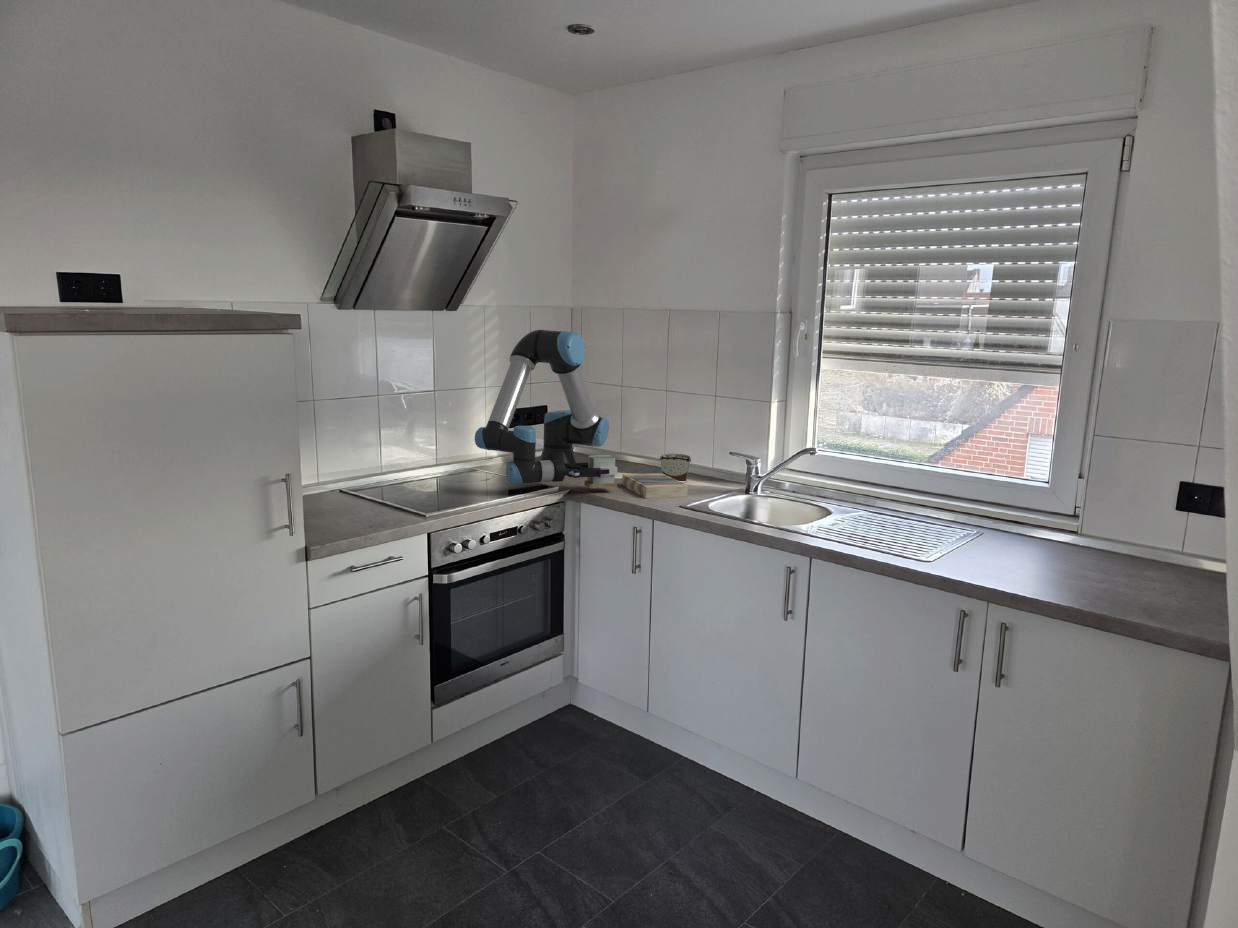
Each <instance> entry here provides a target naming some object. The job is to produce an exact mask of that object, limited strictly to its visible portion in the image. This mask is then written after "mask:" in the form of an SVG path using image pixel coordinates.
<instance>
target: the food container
mask: <svg viewBox="0 0 1238 928" xmlns="http://www.w3.org/2000/svg"><path fill="white" fill-rule="evenodd" d="M659 461H660V468H661V469H660V470H661V471H660V473H662V474H665V475H667V476H669V477H671V478H673V479H675V480H677V481H686V482H687V480H688V474H689V467H690V463H692V458H691V456H690V455H687V454H683V453H670V452H669V453H662V454H660V456H659Z"/></svg>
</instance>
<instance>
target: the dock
mask: <svg viewBox="0 0 1238 928" xmlns="http://www.w3.org/2000/svg"><path fill="white" fill-rule="evenodd" d="M621 478H622V480H621V485H622V486H623V487H625V488H627V489H628V490H630V491H632V492H633V493H635V494H637V495H639V496H641V497H642V498H644V499H664V498H665V499H666V498H684V497H687V498H688V491H689V490H688V489H689V485H688V484H686V483H685V482H679V481H677V480H675V479H673V478H671V477H669V476H667V475H665V474H662V473H661V472H657V473H656V472H655V473H625V474H622V477H621Z"/></svg>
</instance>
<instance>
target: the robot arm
mask: <svg viewBox="0 0 1238 928" xmlns="http://www.w3.org/2000/svg"><path fill="white" fill-rule="evenodd" d="M585 347H586V346H585V343H584V340H583V338H582V337H581V335H580V334H578V333H577V332H573V331H568V330H564V331H563V330H547V329H546V330H544V329H537V330H532V331H530V332H529V333H527V334H525V335H524V336H523V337H522V338H521V339H520V340H519V341H518V342H517V343H516V345H515V347H514V348H513V349H512V352H511V353H510V356H509V359H508V360H509V363H510V364H509V367H508V369H507V372H506V374H505V377H504V379H503V382H502V385H501V387H500V390H499V392H498V395H497V398H496V400H495V402H494V405H493V408H492V410H491V413H490V415H489V417H488V420H487V423H486V426H482V427H481V426H480V427H479V428H478V429H477V430H476V431H475V434H474V443H475V445H476V447H477V448H479V449H482V450H487V451H496V452H497V451H498V452H503V453H504V452H505V453H511V454H512V460H511V461H508V462H507V463H506V464H505V465H506V466H505V476H506V480H507V482H508V483H509V484H521V485H522V484H533V483H534V484H535V483H541V484H543V485H544V484H545V483H550V482H553V483H554V482H555V483H558V482H559V483H560V482H563V481H564V479H565V477H566V476H567V477H568V478H574V479H577V478H587V477H599V478H600V477H601V475H615V476H617V475H618V466H615V467H600V468H588V461H587V462H576V458H575V454H574V451H573V445H579V446H584V447H592V448H593V447H596V448H597V447H599V448H600V447H602V446H603V445H605V442H606V440H607V438H608V435H609V429H610V423H609V420H608V418H606V417H605V416H604V417H603V416H602V417H601V415H600V412H599V410H598V409H597V408H596V407H594V406H593V403H592V400H591V396H590V393H589V390H588V387H587V384H586V382H585V379H584V378H585V377H584V376H583V373H582V369H581V366H582V363H583V361H584V359H585V355H586V351H585ZM538 363H539V364H540V363H541V364H543V363H544V364H549V366H550V369H551V371H552V372H553V373H554V374H557V376H558V379H559V381H560V384H561V387H562V390H563V392H564V396H565V398H566V401H567V404H568V407H569V409H568V410H564V409H563V410H554V411H549V412H548V411H547V412H546V413H545V414H544V417H543V418H544V420H543V421H544V422H543V449H542V450H541V451H542V452H541V455H540V457H539V460H536V443H537V435H536V433H537V432H536V431H537V430H536V428H535V427H533V426H531V425H517V426H514V428H513V430H509V429H510V426H511V424H512V420H513V418H514V414H515V412H516V410H517V407H518V405H519V402H520V400H521V396H522V394H523V391H524V388H525V385H527V384H526V383H527V380H528V378H529V376H530V373H531V372H532V371H534V370H535V367H536V365H537V364H538Z"/></svg>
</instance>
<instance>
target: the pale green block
mask: <svg viewBox="0 0 1238 928" xmlns="http://www.w3.org/2000/svg"><path fill="white" fill-rule="evenodd" d="M587 462H588V468H600V467H616V458H615V457H614V456H613V455H609V454H601V455H600V454H599V455H598V454H597V455H587ZM615 477H616V475H601V477H600V478H599V477H586V479H587V480H584V486H585V487H587V488H589V489H608V488H617V487H618V483H617V482H616V481H615Z"/></svg>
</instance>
